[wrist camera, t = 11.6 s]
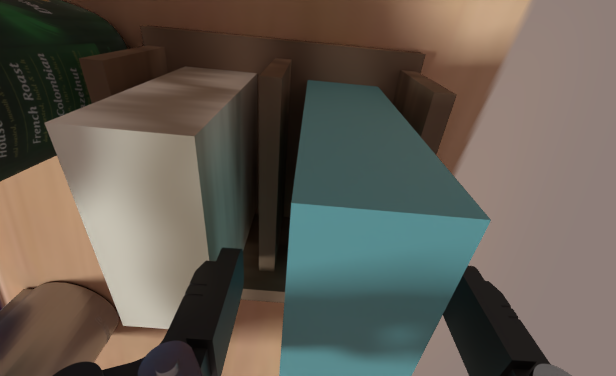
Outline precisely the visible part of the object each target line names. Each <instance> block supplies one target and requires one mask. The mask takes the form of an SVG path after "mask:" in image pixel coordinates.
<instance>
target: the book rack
mask: <svg viewBox="0 0 616 376" xmlns="http://www.w3.org/2000/svg"><path fill="white" fill-rule="evenodd" d="M140 27H141V33H142V38H143V44H144V46H142V47H137V48H131V49H126V50H120V51H115V52H110V53H104V54H99V55H94V56H88V57H83V58H79V61H80V65H81V68H82V72H83V75H84V79H85V82H86V85H87V89H88V92H89V96H90V99H91V103H92V104H90V105H88V106H85V107H83V108H80V109H78V110H75V111H73V112H70V113H68V114H65V115H63V116H60V117H58V118H55V119H53V120H50V121H48V122H45V126H46V128H47V131H48V133H49V136H50V138H51V141H52V144H53V146H54V149H55V151H56V154H57V156H58V159H59V162H60V164H61V167H62V169H63V172H64V174H65V177H66V180H67V182H68V185H69V187H70V190H71V192H72V195H73V198H74V200H75V203H76V205H77V208H78V210H79V213H80V216H81V218H82V221H83V223H84V226H85V229H86V231H87V234H88V236H89V239H90V241H91V244H92V247H93V249H94V252H95V254H96V257H97V259H98V262H99V265H100V267H101V270H102V272H103V275H104V277H105V280H106V283H107V285H108V288H109V290H110V293H111V295H112V298H113V301H114V303H115V306H116V308H117V311H118V313H119V316H120V319H121V321H122V324H123V326H134V327H147V328H160V329H169V327H170V325H171V322H172V320H173V318H174V316H175V314H176V312H177V309H178V307H179V305H180V303H181V301H182V299H183V296H185V292H186V290H187V288H188V286H189V285H190V281H191V279H192V277H193V275H194V273H195V271H196V270H197V269H198V268H199V267H200V266H201V265H202V264H203V263H204V262H205V261H216V260H217V258H218V255H219V253H220V250H221V248H223V247H225V248H238V249H242V250H243V265H244V284H243V291H242V295H241V300H254V301H266V302H279V303H284V302H285V287H286V273H287V258H288V244H289V229H290V215H291V202H292V194H293V187H294V179H295V172H296V164H297V157H298V149H299V142H300V134H301V127H302V119H303V111H304V104H305V96H306V89H307V81H308V80H313V81H324V82H334V83H345V84H355V85H365V86H376V87H379V88H380V90H381V91H382V92H383V93H384V94H385V96H386V97H387V98H388V99H389V100H390V101H391V103H392V104H393V105H394V106H395V107H396V109H397V110H398V111H399V112H400V113H401V114H402V116H403V117H404V118H405V119H406V120H407V122H408V123H409V124H410V125H411V126H412V127H413V129H414V130H415V131H416V132H417V133H418V135H419V136H420V137H421V138H422V139H423V140H424V142H425V143H426V144H427V145H428V146H429V148H430V149H431V150H432V151H433V152H434V153H435V155H436V154H437V151H438V148H439V145H440V142H441V139H442V136H443V133H444V130H445V127H446V124H447V121H448V118H449V116H450V113H451V110H452V107H453V104H454V101H455V98H456V94H454V93H453V92H451V91H449V90H447V89H446V88H444V87H442V86H441V85H439V84H437V83H435V82H434V81H432V80H430V79H428V78H427V77H425V76H423V75H421V74H420V73H421V69H422V65H423V61H424V58H425V54H423V53H419V52H409V51H399V50H389V49H379V48H369V47H359V46H349V45H339V44H329V43H319V42H309V41H298V40H288V39H278V38H268V37H258V36H248V35H238V34H228V33H218V32H208V31H198V30H188V29H178V28H168V27H158V26H140Z"/></svg>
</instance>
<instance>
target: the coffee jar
mask: <svg viewBox="0 0 616 376" xmlns="http://www.w3.org/2000/svg"><path fill="white" fill-rule="evenodd" d="M126 49H127V46H126V45H125V43H124V41H123V39H122V38H121V36H120V35H119V33H118V32H117V31H116V30H115V29H114V28H113V26H112V25H110V24H109V23H108V22H107V21H106V20H104V19H103V18H101V17H100V16H98V15H97V14H95V13H93V12H90V11H88V10H86V9H83V8H81V7H78V6H76V5H73V4H70V3H67V2H64V1H61V0H0V181H2V180H4V179H6V178H9V177H11V176H13V175H15V174H17V173H19V172H21V171H24V170H26V169H28V168H30V167H32V166H34V165H37V164H39V163H41V162H43V161H45V160H47V159H50V158H52V157H54V156H56V155H57V154H56V151H55V149H54V146H53V144H52V141H51V138H50V136H49V133H48V131H47V128H46V126H45V122H48V121H50V120H53V119H55V118H58V117H60V116H63V115H65V114H68V113H70V112H73V111H75V110H78V109H80V108H83V107H85V106H88V105H90V104H92V103H91V99H90V96H89V92H88V89H87V85H86V82H85V79H84V75H83V72H82V68H81V65H80V61H79V58H83V57H88V56H94V55H99V54H104V53H110V52H115V51H120V50H126Z"/></svg>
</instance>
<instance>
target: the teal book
mask: <svg viewBox="0 0 616 376" xmlns="http://www.w3.org/2000/svg"><path fill="white" fill-rule="evenodd" d="M490 221H491V220H490V218H489V217H488V216H487V215H486V214H485V213H484V212H483V210H482V209H481V208H480V207H479V205H478V204H477V203H476V202H475V201H474V200H473V198H472V197H471V196H470V195H469V194H468V192H467V191H466V190H465V189H464V188H463V187H462V185H461V184H460V183H459V182H458V181H457V179H456V178H455V177H454V176H453V175H452V174H451V172H450V171H449V170H448V169H447V168H446V166H445V165H444V164H443V163H442V162H441V161H440V159H439V158H438V157H437V156H436V155H435V153H434V152H433V151H432V150H431V149H430V148H429V146H428V145H427V144H426V143H425V142H424V140H423V139H422V138H421V137H420V136H419V135H418V133H417V132H416V131H415V130H414V129H413V127H412V126H411V125H410V124H409V123H408V122H407V120H406V119H405V118H404V117H403V116H402V114H401V113H400V112H399V111H398V110H397V109H396V107H395V106H394V105H393V104H392V103H391V101H390V100H389V99H388V98H387V97H386V96H385V94H384V93H383V92H382V91H381V90H380V88H379V87H376V86H365V85H355V84H345V83H334V82H324V81H313V80H308V81H307V89H306V96H305V104H304V111H303V119H302V127H301V134H300V142H299V149H298V157H297V164H296V172H295V179H294V187H293V194H292V202H291V215H290V229H289V244H288V258H287V273H286V287H285V302H284V316H283V330H282V345H281V359H280V374H279V376H411V375H412V373H413V372H414V370H415V368H416V366H417V364H418V362H419V360H420V358H421V356H422V354H423V352H424V350H425V348H426V346H427V344H428V342H429V340H430V338H431V336H432V334H433V332H434V330H435V329H436V327H437V325H438V323H439V321H440V319H441V317H442V315H443V313H444V311H445V309H446V307H447V305H448V303H449V301H450V299H451V297H452V295H453V293H454V291H455V289H456V287H457V286H458V284H459V282H460V280H461V278H462V276H463V274H464V272H465V270H466V268H467V266H468V264H469V262H470V260H471V258H472V256H473V254H474V252H475V250H476V248H477V246H478V244H479V243H480V240H481V239H482V237H483V235H484V233H485V231H486V229H487V227H488V225H489V223H490Z"/></svg>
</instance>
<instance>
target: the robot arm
mask: <svg viewBox="0 0 616 376" xmlns="http://www.w3.org/2000/svg"><path fill="white" fill-rule="evenodd" d="M243 284H244V265H243V250H242V249H238V248H225V247H223V248H221V250H220V253H219V255H218V258H217V260H216V261H205V262H204V263H203V264H202V265H201V266H200V267H199V268H198V269H197V270H196V271H195V273H194V275H193V277H192V279H191V281H190V285H189V286H188V288H187V290H186V292H185V296H183V299H182V301H181V303H180V305H179V307H178V309H177V312H176V314H175V316H174V318H173V320H172V322H171V325H170V327H169V329H168V331H167V333H166V335H165V337H164V339H163V341H162V342H161V343H160V345H158V346H157V347H155V348H154V349H153V350H151V351H150V352H149V353H148V354H147V355H146V356H145V357H144V358H142V359H140V360H137V361H135V362H132V363H128V364H124V365H120V366H116V367H112V368H109V369H105V370H101V368H100V367H99V366H98V365H97V364H95V363H94V362H95V360H96V359H97V357H98V355H99V354H100V352H101V351H102V349H103V347H104V346H105V344H106V343H107V342H108V340H109V339H110V336H111V335H112V333H113V332H114V330H115V328H116V327H117V325H118V321H119V319H118V314H117V312H116V311H115V309H114V308H113V306H112V305H111V304H110V303H109V302H108V301H107V300H105V299H104V298H103V297H101V296H100V295H98V294H96V293H95V292H93V291H91V290H88V289H86V288H83V287H80V286H77V285H73V284H68V283H60V282H53V283H46V284H42V285H40V286H38V287H36V288H34V289H23V290H22V291H21V292H20V293H19V294H18V295H17V296H16V297H15V298H14V299H12V300H11V301H10V302H9V303H8V304H7V305H6V306H5V307H4V308H3V309H2V310H1V311H0V376H221V374H222V370H223V366H224V362H225V358H226V354H227V350H228V346H229V342H230V338H231V334H232V331H233V327H234V323H235V319H236V315H237V311H238V307H239V303H240V299H241V295H242V291H243ZM443 316H444V319H445V321H446V323H447V326H448V328H449V330H450V332H451V335H452V337H453V339H454V342H455V344H456V346H457V348H458V351H459V353H460V355H461V358H462V360H463V362H464V365H465V367H466V369H467V372H468V374H469V376H572V375H570V374H569V373H567V372H566V371H564V370H563V369H561V368H558V367H556V366H554V365H551V364H550V363H549V362H548V360H547V359H546V357H545V356H544V354H543V353H542V351H541V350H540V348H539V347H538V345H537V344H536V343H535V341H534V339H533V338H532V337H531V335H530V334H529V332H528V331H527V329H526V328H525V326H524V325H523V323H522V322H521V321H520V320H519V319H518V316H517V315H516V313H515V312H514V310H513V309H511V306H510V304H509V303H508V301H507V300H506V299H505V297H504V295H503V294H502V293H501V292H500V291H499V290H498V289H497V288H496V287H495V286H493V285H492V284H491V283H490V282H489V281H485V280H484V279H483V277H482V276H481V274H480V273H479V271H478V270H477V269H476V268H475V267H474V266H467V268H466V270H465V272H464V274H463V276H462V278H461V280H460V282H459V284H458V286H457V287H456V289H455V291H454V293H453V295H452V297H451V299H450V301H449V303H448V305H447V307H446V309H445V311H444V313H443Z"/></svg>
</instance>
